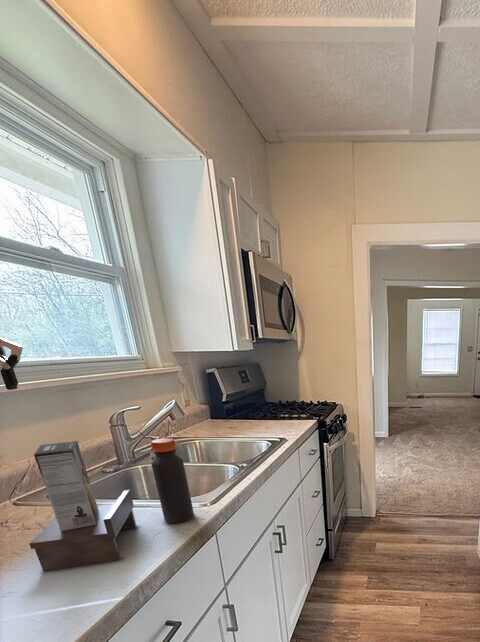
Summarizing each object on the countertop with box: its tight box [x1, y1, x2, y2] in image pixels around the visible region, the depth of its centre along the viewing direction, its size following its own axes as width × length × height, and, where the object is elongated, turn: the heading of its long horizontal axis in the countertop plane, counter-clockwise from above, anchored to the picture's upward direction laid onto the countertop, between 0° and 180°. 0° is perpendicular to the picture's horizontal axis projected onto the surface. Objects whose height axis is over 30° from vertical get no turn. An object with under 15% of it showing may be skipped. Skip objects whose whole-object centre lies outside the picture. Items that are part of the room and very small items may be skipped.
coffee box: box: [33, 440, 99, 531], centre depth 82 cm, size 9×6×16 cm
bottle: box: [150, 437, 195, 524], centre depth 98 cm, size 7×7×20 cm
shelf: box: [29, 489, 137, 572], centre depth 86 cm, size 14×18×9 cm
